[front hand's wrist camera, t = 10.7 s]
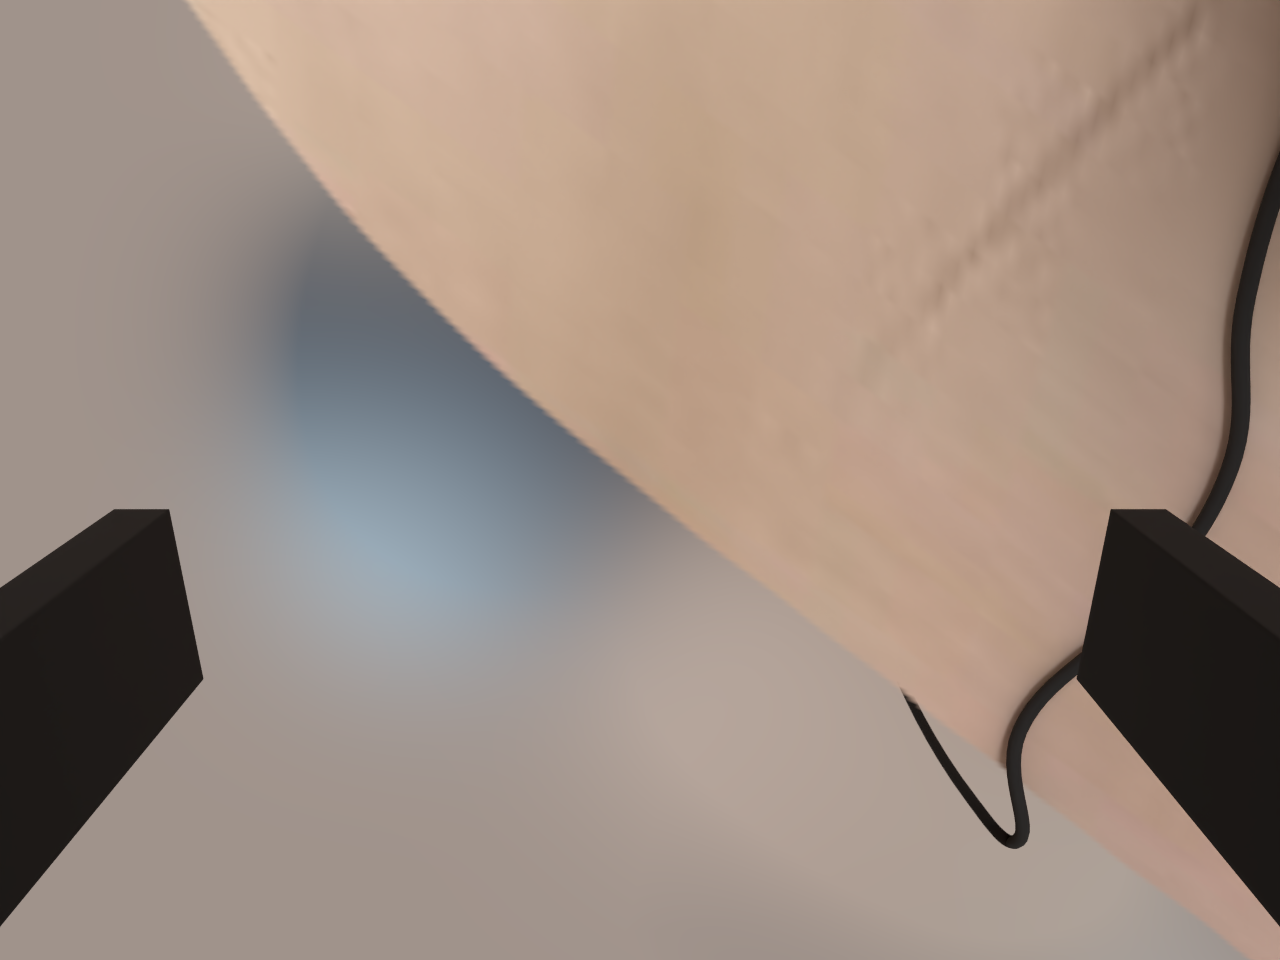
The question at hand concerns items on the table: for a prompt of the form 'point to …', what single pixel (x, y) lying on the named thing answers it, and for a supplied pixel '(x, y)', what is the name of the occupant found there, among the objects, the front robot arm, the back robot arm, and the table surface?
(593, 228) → the table surface
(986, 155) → the table surface
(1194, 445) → the table surface
